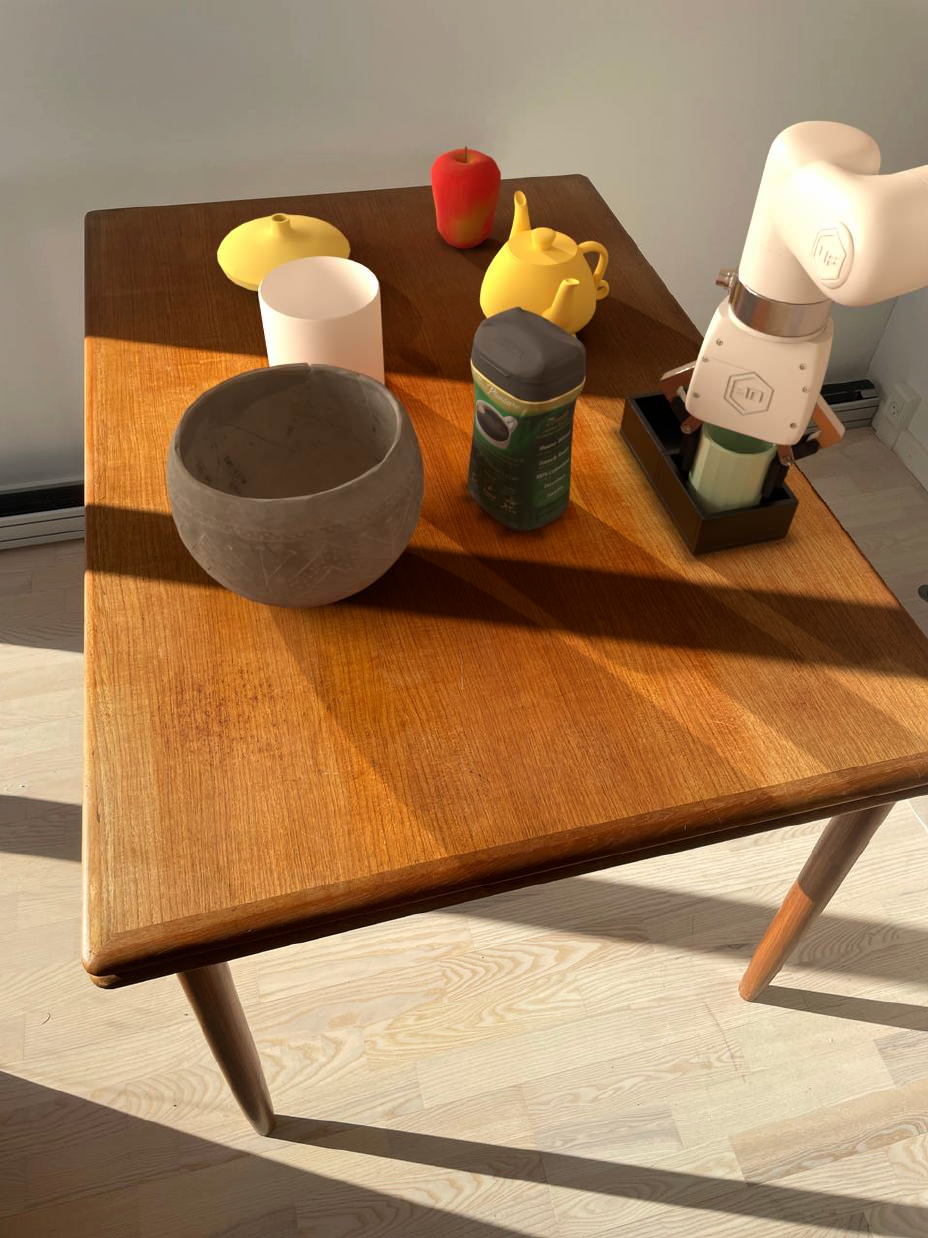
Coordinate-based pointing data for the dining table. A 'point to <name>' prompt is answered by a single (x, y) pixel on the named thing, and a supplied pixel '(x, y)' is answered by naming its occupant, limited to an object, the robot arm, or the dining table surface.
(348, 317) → the cup
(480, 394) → the coffee jar
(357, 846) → the dining table surface
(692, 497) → the black divided tray
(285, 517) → the bowl
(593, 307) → the teapot
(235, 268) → the vase
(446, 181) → the apple
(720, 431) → the sage cup
